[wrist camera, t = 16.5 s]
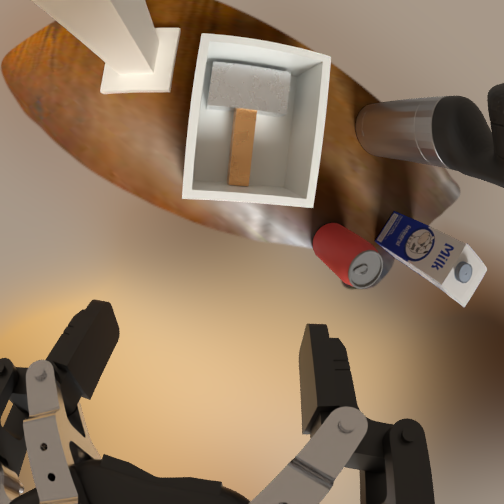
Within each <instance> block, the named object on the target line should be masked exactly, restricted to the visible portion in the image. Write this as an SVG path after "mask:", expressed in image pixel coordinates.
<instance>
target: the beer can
mask: <svg viewBox="0 0 504 504" xmlns="http://www.w3.org/2000/svg"><path fill="white" fill-rule="evenodd" d="M313 250H314V252H315V254H316V255H317V256H318V257H319V258H320V259H321V260H322V261H323V262H324V263H325V264H326V265H327V266H328V267H329V268H330V269H331V270H332V271H333V272H334V273H335V274H336V275H337V276H338V277H339V278H340V279H341V280H342V281H343V282H344V283H346V284H349V285H351V286H354V287H356V288H358V289H364V288H367V287H369V286H371V285H372V284H374V283H375V282H376V280H377V279H378V278H379V276H380V274H381V272H382V269H383V260H382V257H381V255H380V254H379V253H378V251H377V250H376V248H375V247H374V246H373V245H372V244H371V243H369V242H368V241H366V240H365V239H363V238H361V237H360V236H358V235H357V234H355V233H353V232H352V231H350V230H348V229H347V228H345V227H343V226H342V225H340V224H338V223H329V224H326V225H324V226H322V227H321V228H320V229H319V230H318V231H317V232H316V234H315V236H314V239H313Z"/></svg>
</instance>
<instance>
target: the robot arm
mask: <svg viewBox="0 0 504 504" xmlns="http://www.w3.org/2000/svg"><path fill="white" fill-rule="evenodd" d="M488 111H489V117H490V121H491V129H492V132H491V130H490V128H489V126H488V125H487V122H486V120H485V118H484V116H483V114H482V113H481V111H480V110H479V108H478V107H477V106H476V105H475V103H473V102H472V101H471V100H469V99H468V98H465V97H462V96H444V97H443V96H442V97H429V98H418V99H417V98H416V99H406V100H397V101H390V102H381V103H374V104H369V105H367V106H365V107H364V108H362V110H361V111H360V112H359V114H358V116H357V120H356V134H357V137H358V140H359V142H360V144H361V146H362V147H363V148H364V149H365V150H366V151H367V152H368V153H370V154H372V155H374V156H378V157H386V158H392V159H398V160H405V161H411V162H417V163H422V164H428V165H433V166H438V167H443V168H448V169H452V170H456V171H459V172H461V173H463V174H465V175H468V176H471V177H475V178H478V179H481V180H484V181H487V182H490V183H493V184H496V185H498V186H500V187H503V188H504V83H503V84H499V85H496V86H494V87H492V88H491V89H490V91H489V92H488ZM118 339H119V326H118V323H117V321H116V317H115V315H114V312H113V309H112V306H111V304H110V303H109V302H105V301H99V300H92V301H91V302H90V304H89V305H88V306H87V308H86V309H85V310H81V311H80V312H79V313H78V314H76V315H75V316H74V317H73V318H72V320H71V321H70V323H69V324H68V327H66V329H65V330H64V333H63V334H62V335H61V336H60V338H59V340H58V341H57V343H56V344H55V346H54V347H53V349H52V350H51V352H50V354H49V355H48V357H47V358H46V360H38V361H36V362H34V363H32V364H31V365H30V366H29V368H20V367H15V366H14V365H13V363H12V362H11V361H10V360H9V359H7V358H2V359H0V419H1V416H2V413H3V411H4V409H5V407H6V405H7V402H8V400H10V401H11V402H12V403H13V406H12V408H11V410H10V413H9V415H8V417H7V420H6V422H5V425H4V427H2V426H1V422H0V504H319V503H320V502H321V500H322V499H323V498H324V497H325V496H326V494H327V493H328V492H329V490H330V489H331V487H332V486H333V482H334V480H335V479H336V477H337V476H338V474H339V473H340V472H341V470H342V469H343V467H347V468H353V469H358V470H360V502H361V504H435V502H434V491H433V482H432V474H431V467H430V461H429V455H428V449H427V443H426V438H425V433H424V430H423V428H422V427H421V425H420V424H419V423H418V422H416V421H414V420H412V419H402V420H399V421H397V422H396V423H395V424H394V425H392V424H386V423H381V422H376V421H373V420H370V419H368V418H367V417H365V415H364V414H363V413H362V412H361V411H360V410H359V408H358V406H357V401H356V396H355V391H354V385H353V380H352V375H351V371H350V366H349V362H348V357H347V352H346V348H345V346H344V345H343V344H342V342H341V341H340V340H339V338H329V333H328V328H327V325H326V324H307V325H306V328H305V332H304V336H303V340H302V343H301V347H300V352H299V371H300V388H301V389H300V391H301V409H302V410H301V411H302V434H310V437H311V439H310V441H309V442H308V443H307V444H306V445H305V446H304V448H303V449H302V450H301V451H300V452H299V454H298V455H297V456H296V457H295V458H294V459H293V460H292V461H291V462H290V463H289V464H288V465H287V466H286V467H285V468H284V469H283V470H282V471H281V472H280V473H279V474H278V475H277V476H276V478H274V479H273V480H272V482H271V483H270V484H269V485H268V486H267V487H266V488H265V489H264V490H262V492H260V493H259V495H257V496H256V497H255V498H254V499H253V500H252V501H251V502H250V501H249V500H248V499H247V498H245V497H244V496H242V495H241V494H239V493H237V492H236V491H233V490H231V489H229V488H226V487H223V486H222V482H219V481H211V480H204V479H198V478H192V477H183V478H159V477H155V476H153V475H151V474H149V473H147V472H145V471H143V470H142V469H140V468H138V467H136V466H135V465H133V464H131V463H129V462H126V461H123V460H120V459H116V458H114V457H111V456H108V455H105V454H104V455H103V458H102V459H101V457H100V455H99V453H98V451H97V450H96V448H95V447H94V445H93V443H92V442H91V439H90V436H89V433H88V430H87V426H86V423H85V420H84V416H83V412H82V409H81V405H80V403H79V400H80V398H81V397H84V398H87V399H89V400H90V399H91V397H92V395H93V392H94V390H95V388H96V386H97V384H98V381H99V379H100V377H101V375H102V373H103V371H104V368H105V366H106V364H107V362H108V360H109V358H110V356H111V354H112V352H113V350H114V348H115V346H116V344H117V342H118ZM26 451H27V452H28V457H29V462H30V466H31V470H32V474H33V478H34V482H35V485H36V488H34V489H32V490H30V491H28V492H26V493H25V494H23V495H20V493H22V492H23V491H24V486H23V484H22V483H21V482H20V481H19V478H18V477H19V473H20V470H21V467H22V463H23V460H24V457H25V454H26Z"/></svg>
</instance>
